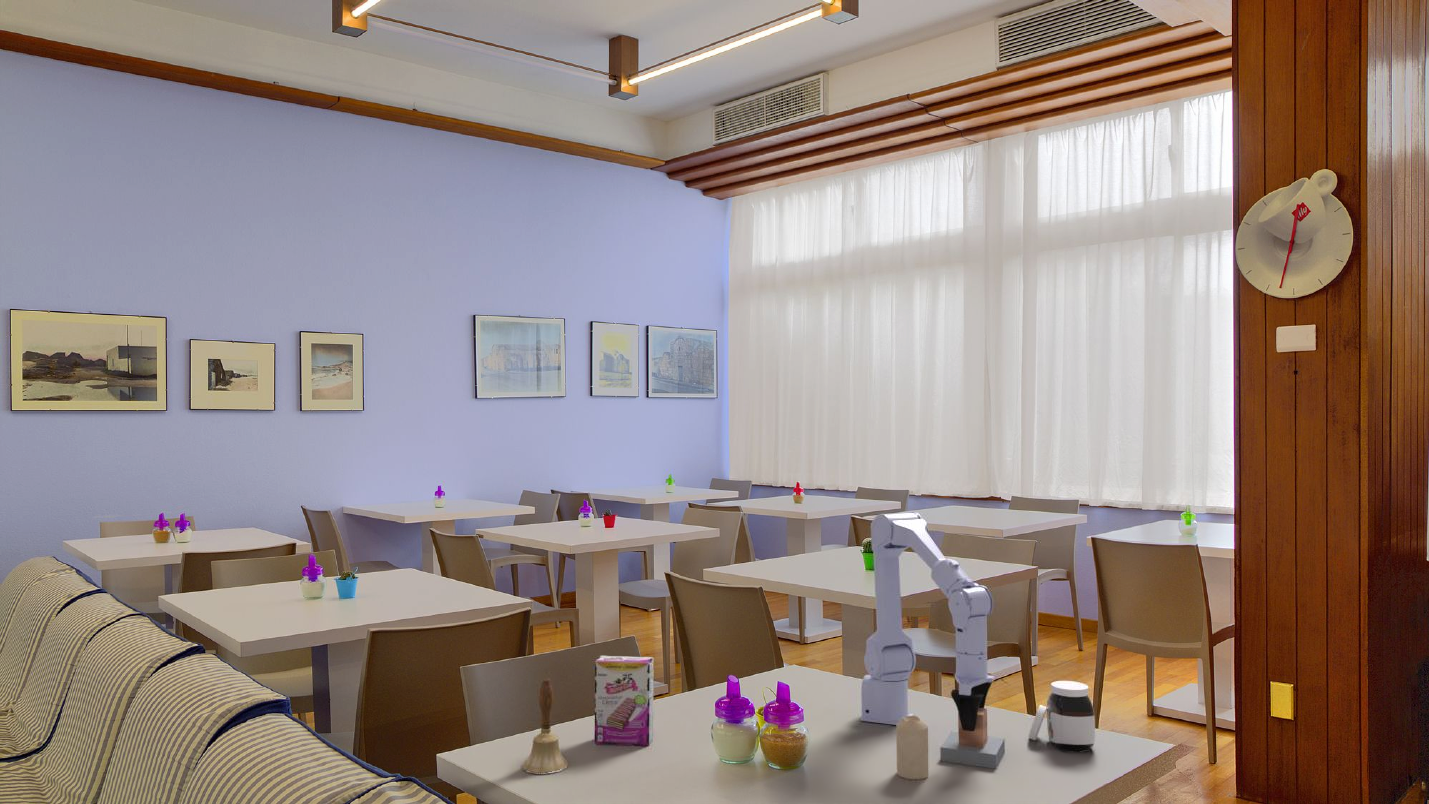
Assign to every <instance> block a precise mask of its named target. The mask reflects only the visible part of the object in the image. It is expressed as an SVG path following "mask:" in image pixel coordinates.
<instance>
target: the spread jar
mask: <svg viewBox="0 0 1429 804" xmlns="http://www.w3.org/2000/svg"><path fill="white" fill-rule="evenodd" d="M1089 689H1090V688H1089V685H1087V684H1085V683H1082V682H1078V681H1072V680H1058V681H1054V682H1051V683H1050V690H1051V693H1050V694H1049V696H1048V697H1047V701H1046V706H1045V705H1041V704H1039V706H1038V709H1037V711H1036V713H1035V717H1034V719H1033V722H1032V725H1031V728H1030V729H1029V733H1028V739H1031V740H1033V741H1036V739H1037V738H1038V736H1039V732H1040V729H1041V727H1042V724H1043V722H1044V719H1045V717H1046V726H1047V727H1046V729H1047V736H1048V739H1049V742H1050V744H1051V745H1052V747H1054V748H1056V749H1058V750H1061V751H1064V752H1071V751H1073V752H1074V753H1081V752H1080V751H1083V752H1087V751H1090V750H1091V749H1092V748H1093V747H1094V745H1095V742H1096V741H1095V740H1096V719H1095V718H1096V717H1095V709H1094V707H1093V703H1092V701H1091V699H1090V697H1089V692H1090V691H1089Z"/></svg>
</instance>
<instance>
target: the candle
mask: <svg viewBox="0 0 1429 804" xmlns="http://www.w3.org/2000/svg"><path fill="white" fill-rule="evenodd" d="M895 727H896V729H895V730H896V731H895V732H896V733H895V734H896V735H895V737H896V773H897V775H898V776H899V777H901V778H903V779H907V780H915V779H917V780H923V779H926V778H928V777H929V726H928V725H927V724H926V723H925V722H924V721H923V720H922V719H921V718H919V717H918V716H917V715H914V716H906V717H905V718H904V717H903V718H902V719H901V720H900V721H899V722H898V723H897V725H895ZM927 776H928V777H927Z"/></svg>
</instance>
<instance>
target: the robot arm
mask: <svg viewBox="0 0 1429 804" xmlns="http://www.w3.org/2000/svg"><path fill="white" fill-rule="evenodd" d="M927 523H928V522H926V521H925V520H924V518H923V517H922V515H921V514H919V513H918V512H915V511H912V512H908V513H907V512H904V513H903V512H902V513H887V514H886V513H879V514H877V515H876V516H875V517H874V518H873V520H872V521H871V523H870V540H871V541H870V542H871V551H872V552H873V554H872V555H873V571H874V593H875V596H874V597H875V616H876V618H875V619H876V630H875V632H873V634H871V635H870V636H869V638H867V640H866V641H865V642H866V648H865V653H864V659H863V662H864V667H865V669H866V671H867V673H868V674H866V675H863V678H862V681H861V694H860V695H861V698H860V699H861V717H860V721H861V722H868V723H869V722H870V723H876V724H878V723H879V724H885V725H893V726H896V725H897V723H898V722H899V721H900V720H901V719H902V718H903V717H904V718H905V717H906V716H915V715H914V714H913V713H909V698H908V697H909V695H908V694H909V693H908V692H909V691H908V690H909V687H908V683H909V682H908V678H911V673H912V672H914V670H915V668H916V664H917V657H916V653H915V650H914V648H913V647H914V646H913V639H912V638H911V637H910V636H909V635H908V634H906V632H904V631H903V619H902V618H903V617H902V601H901V600H902V596H901V595H902V594H901V580H900V579H901V578H900V575H901V574H900V559H899V558H900V556H901V555H902V554H903V552H905V550H906V549H909V548H911V549H912V551H913V552H914V553H915V554H917V555H918V557H919V558H920V559H921V560H922V561H923V562H924V563H925V564H926V565H927V566H928V567H929V568H930V570H931V574H930V576H931V577H930V578H931V579H932V581H933V582H934V583H935V584H936V586H937V587H938V589H940V591H941V592H942V593H943V594H944V595H945V597H946V598H947V599H948V600H947V604H948V605H947V606H948V609H949V613H951V614H950V615H951V618H952V624H953V627H954V628H955V674H954V679H955V680H956V682H957V684H958V689H952V690H951V691H950V696H951V698H952V700H953V701H954V704H955V705H956V708H957V713H958V712H959V717H960V722H961V726H962V729H963V730H966V731H974V730H975V727H976V721H977V713H978V708H985V705H986V700H987V695H988V694H989V693H988V692H989V690H990V687H991V686H992V684H993V682H994V681H995V676H994V675H988V623H987V622H988V621H987V619H988V618H987V617H988V616H990V615H991V614H992V612H993V610H994V598H993V596H992V594H991V592H990V590H989V588H988V587H987V586H986V585H980V584H978V583H977V582H974V581H973V580H972V579H971V578H970V577H969V575H968V574H967V573H966V571H964V570H963V568H961V566H960V563H959V562H958V561H957V560H954V559H952V558H946V557H945V556H944V555H943V553H942V551H941V549H940V548H939V547H938V546H937V544H936V543H935V542H934V540H933V539H932V537H931V536H930V534H929V532H928V525H927Z"/></svg>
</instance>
